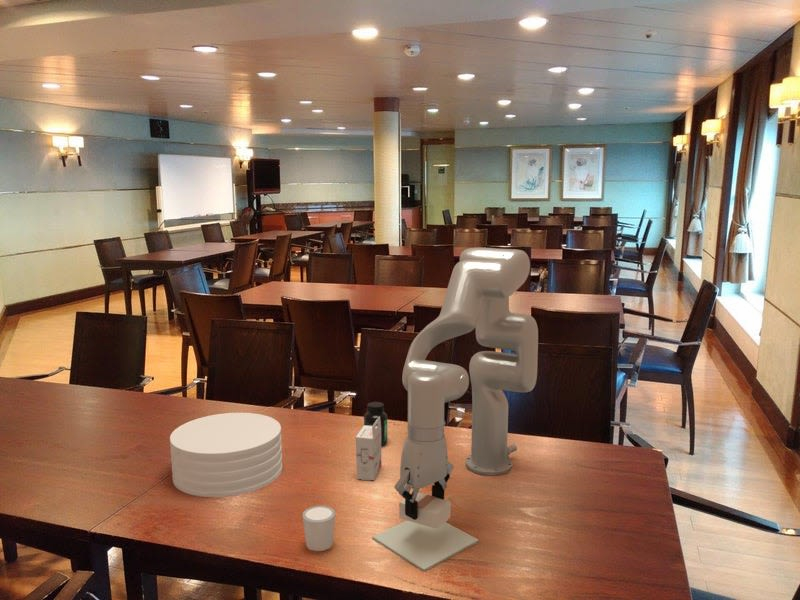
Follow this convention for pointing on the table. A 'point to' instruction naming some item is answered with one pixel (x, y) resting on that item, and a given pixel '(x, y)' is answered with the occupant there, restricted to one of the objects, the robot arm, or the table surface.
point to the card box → (428, 511)
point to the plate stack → (226, 454)
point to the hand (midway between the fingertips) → (424, 510)
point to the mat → (424, 543)
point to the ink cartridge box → (368, 451)
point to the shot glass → (319, 527)
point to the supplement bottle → (372, 415)
